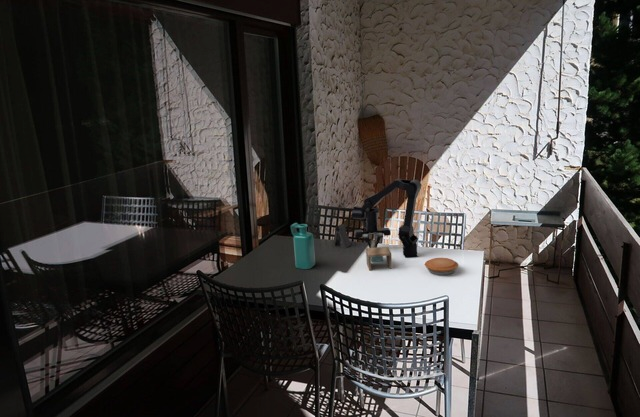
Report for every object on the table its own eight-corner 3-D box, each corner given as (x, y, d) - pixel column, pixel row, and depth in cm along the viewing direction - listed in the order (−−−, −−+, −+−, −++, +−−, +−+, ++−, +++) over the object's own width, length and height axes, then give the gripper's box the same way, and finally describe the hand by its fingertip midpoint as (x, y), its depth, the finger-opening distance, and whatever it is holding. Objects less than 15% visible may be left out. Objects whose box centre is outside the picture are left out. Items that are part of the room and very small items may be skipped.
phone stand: (351, 245, 290) (350, 224, 287) (345, 248, 285) (344, 227, 283) (337, 243, 295) (336, 223, 292) (331, 246, 291) (330, 225, 288)
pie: (434, 279, 235) (434, 269, 234) (419, 268, 250) (418, 258, 248) (464, 274, 239) (464, 264, 238) (447, 263, 253) (447, 253, 252)
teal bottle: (316, 264, 265) (313, 222, 259) (309, 269, 257) (306, 227, 252) (299, 262, 269) (296, 221, 263) (292, 268, 261) (288, 226, 256)
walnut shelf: (388, 261, 261) (388, 246, 259) (391, 269, 251) (391, 253, 249) (366, 263, 260) (366, 248, 258) (369, 270, 251) (368, 255, 249)
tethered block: (378, 249, 279) (377, 239, 277) (383, 260, 262) (382, 249, 260) (367, 250, 279) (366, 240, 277) (371, 261, 262) (370, 250, 260)
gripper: (387, 214, 281) (388, 242, 285) (352, 217, 281) (354, 244, 285) (390, 220, 270) (391, 248, 274) (354, 222, 270) (356, 251, 274)
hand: (373, 247), depth 277 cm, fingers closed on tethered block, 3 cm apart
